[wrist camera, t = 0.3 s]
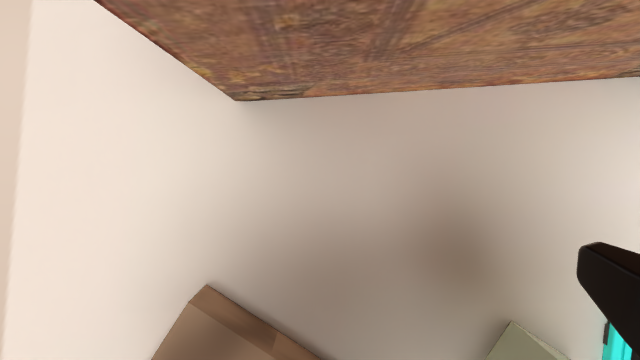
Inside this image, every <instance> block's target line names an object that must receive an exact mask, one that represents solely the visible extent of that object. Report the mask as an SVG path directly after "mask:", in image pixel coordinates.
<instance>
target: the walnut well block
mask: <svg viewBox="0 0 640 360" xmlns="http://www.w3.org/2000/svg"><path fill="white" fill-rule="evenodd" d="M151 360H322V359H320V358H319V357H317V356H316V355H314V354H313V353H311V352H309V351H308V350H306V349H305V348H303V347H302V346H300V345H299V344H297V343H296V342H294V341H293V340H291V339H290V338H288V337H286V336H285V335H283V334H282V333H280V332H279V331H277V330H276V329H274V328H273V327H271V326H270V325H268V324H266V323H265V322H263V321H262V320H260V319H259V318H257V317H256V316H254V315H253V314H251V313H250V312H248V311H246V310H245V309H243V308H242V307H240V306H239V305H237V304H236V303H234V302H233V301H231V300H230V299H228V298H226V297H225V296H223V295H222V294H220V293H219V292H217V291H216V290H214V289H213V288H211V287H210V286H208V285H205V286H204V287H203V288H202V289H201V290H200V291H199V292H198V293H197V294H196V295H195V296H194V297H193V298H192V299H191V300H190V301H189V302H188V304H187V305H186V307H185V308H184V310H183V311H182V313H181V314H180V316H179V317H178V319H177V320H176V322H175V324H174V325H173V327H172V328H171V330H170V331H169V333H168V334H167V336H166V337H165V339H164V341H163V342H162V344H161V345H160V347H159V348H158V350H157V351H156V353H155V354H154V356H153V358H152V359H151Z"/></svg>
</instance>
